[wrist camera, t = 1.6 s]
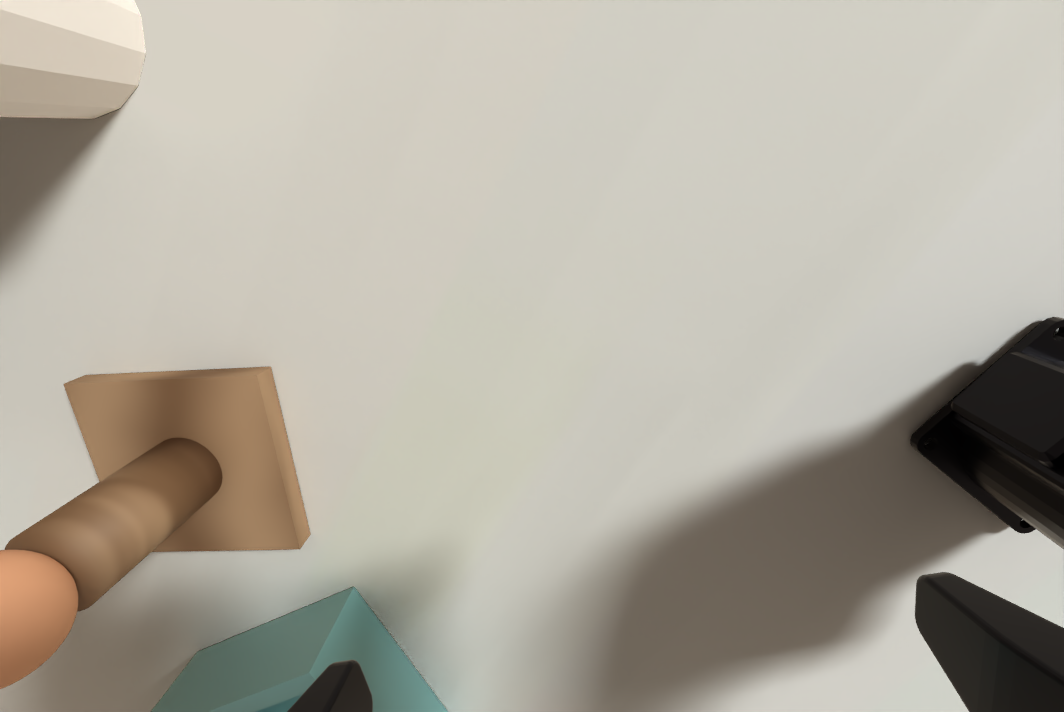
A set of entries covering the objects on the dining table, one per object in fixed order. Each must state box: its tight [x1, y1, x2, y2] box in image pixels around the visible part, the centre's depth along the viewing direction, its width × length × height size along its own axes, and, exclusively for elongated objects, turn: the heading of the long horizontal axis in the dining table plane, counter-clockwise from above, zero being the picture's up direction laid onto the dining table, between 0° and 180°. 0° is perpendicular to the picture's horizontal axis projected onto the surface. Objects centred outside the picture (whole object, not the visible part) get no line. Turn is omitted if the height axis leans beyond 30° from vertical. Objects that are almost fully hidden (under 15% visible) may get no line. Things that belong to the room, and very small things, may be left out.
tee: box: [5, 367, 310, 611], centre depth 19 cm, size 8×8×7 cm
